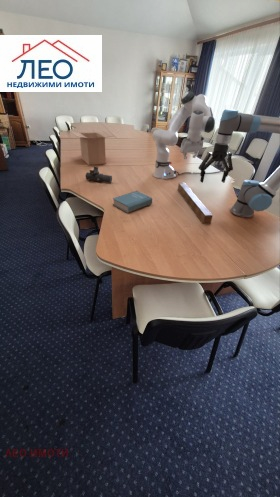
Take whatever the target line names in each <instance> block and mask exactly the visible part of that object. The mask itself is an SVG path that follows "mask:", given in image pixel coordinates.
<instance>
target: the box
mask: <svg viewBox="0 0 280 497" xmlns="http://www.w3.org/2000/svg"><path fill="white" fill-rule="evenodd" d="M70 133H71V134H72V135H74V136H75V137H77V138H79V144H80V153H81V160H83V162H85V163H86V165H87V166H95V165H97V166H98V165H106V163H107V162H106V158H107V157H106V138H113V137H114V136H113V135H111V134H109V133H108V132H105V131H98V132H96V131H95V130H92V129H91V130H77V132H76V131H70Z"/></svg>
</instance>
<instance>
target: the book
mask: <svg viewBox="0 0 280 497" xmlns="http://www.w3.org/2000/svg"><path fill="white" fill-rule="evenodd" d="M112 200H113V203H112V206H114V207H115V208H118V209H120V210H121V211H123V212H125V213H127V214H128V213H131V212H134V211H136V210H139V209H141V208H144V207H147V206H150V205H152V204H153V197H152V196H149V195H148V194H145V193H143V192H140V191H138V190H134V191H131V192H128V193H125V194H121V195H119V196H116V197H113V198H112Z"/></svg>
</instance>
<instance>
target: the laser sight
mask: <svg viewBox="0 0 280 497" xmlns="http://www.w3.org/2000/svg"><path fill="white" fill-rule="evenodd" d="M85 179H86V180H87V181H90V182H91V181H92V182H99V183H110V184H111V183H112V181H113V175H108V174H104V173H100V171H99V167H97V166H93V170H92V169H89V172H88V171H87V172H86V173H85Z"/></svg>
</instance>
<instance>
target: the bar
mask: <svg viewBox="0 0 280 497" xmlns="http://www.w3.org/2000/svg"><path fill="white" fill-rule="evenodd" d="M177 191H178V193H179V194H180V195H181V196H182V198H183V199H184V201H185V202H186V203H187V204H188V206H189V207H190V209H191V210H192V211H193V213H194V214H195V216H196V217H197V218H198V219H199V221H200V222H201V223H202V224H203V225H211V223H212V219H213V217H214V216H213V214H212V212H211V211H210V210H209V209H208V208H207V207H206V206H205V204H204V203H203V202H202V201H201V200H200V199H199V198H198V197H197V195H196V194H195V193H194V192H193V191H192V189H191V188H190V187H189V186H188V185H187V183H185V182H178V186H177Z"/></svg>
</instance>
